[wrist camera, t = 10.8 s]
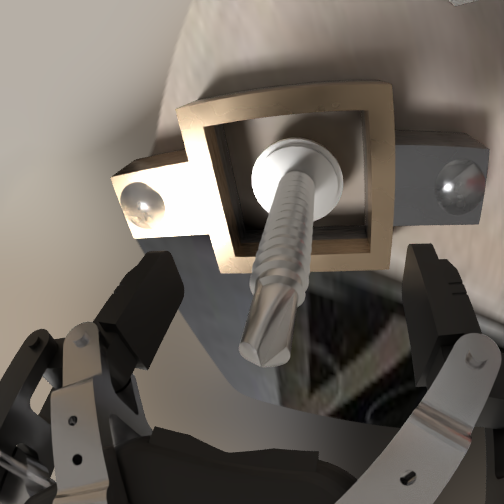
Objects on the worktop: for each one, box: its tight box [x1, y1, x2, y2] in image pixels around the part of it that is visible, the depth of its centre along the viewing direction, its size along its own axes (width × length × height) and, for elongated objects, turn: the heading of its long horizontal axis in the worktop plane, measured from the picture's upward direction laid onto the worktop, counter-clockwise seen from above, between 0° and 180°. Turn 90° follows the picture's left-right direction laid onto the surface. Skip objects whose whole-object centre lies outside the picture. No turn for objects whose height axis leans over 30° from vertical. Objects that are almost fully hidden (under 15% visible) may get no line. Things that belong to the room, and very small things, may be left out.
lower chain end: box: [189, 80, 489, 243], centre depth 15 cm, size 16×10×3 cm, turn 101°
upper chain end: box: [110, 82, 395, 273], centre depth 17 cm, size 16×10×3 cm, turn 101°
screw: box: [239, 138, 343, 367], centre depth 12 cm, size 13×5×5 cm
